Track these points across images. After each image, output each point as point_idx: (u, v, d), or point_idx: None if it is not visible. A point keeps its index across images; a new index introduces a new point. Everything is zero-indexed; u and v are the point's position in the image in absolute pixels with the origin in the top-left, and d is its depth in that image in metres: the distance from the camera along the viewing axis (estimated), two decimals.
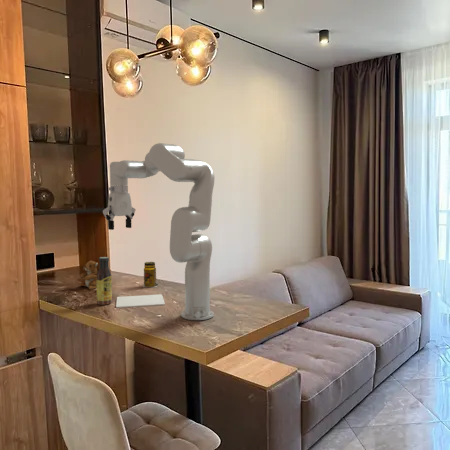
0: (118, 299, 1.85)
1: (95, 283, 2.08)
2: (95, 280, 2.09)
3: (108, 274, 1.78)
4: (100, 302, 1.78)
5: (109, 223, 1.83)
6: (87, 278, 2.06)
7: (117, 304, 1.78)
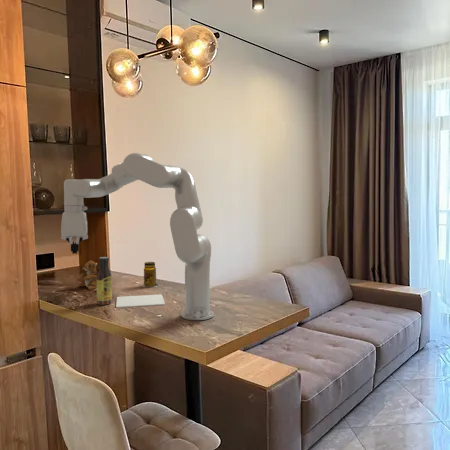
0: (118, 299, 1.85)
1: (94, 283, 2.08)
2: (94, 280, 2.09)
3: (108, 274, 1.78)
4: (100, 302, 1.78)
5: (78, 246, 1.77)
6: (86, 278, 2.06)
7: (117, 304, 1.78)
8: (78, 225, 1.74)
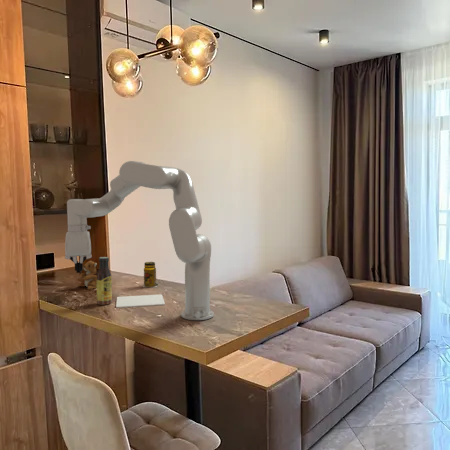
0: (118, 299, 1.85)
1: (94, 283, 2.08)
2: (94, 280, 2.09)
3: (108, 274, 1.78)
4: (100, 302, 1.78)
5: (82, 265, 1.78)
6: (86, 278, 2.06)
7: (117, 304, 1.78)
8: (82, 244, 1.74)
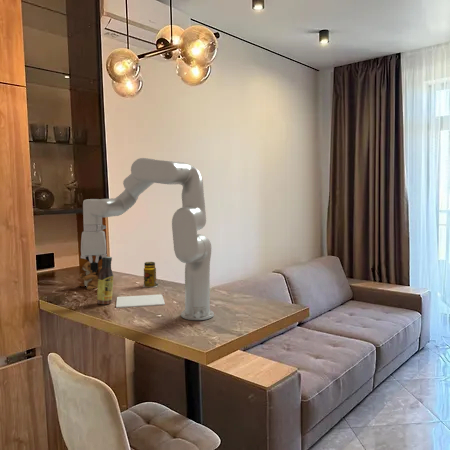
0: (118, 299, 1.85)
1: (94, 283, 2.08)
2: (94, 280, 2.09)
3: (110, 274, 1.79)
4: (100, 301, 1.78)
5: (97, 265, 1.79)
6: (86, 278, 2.06)
7: (117, 304, 1.78)
8: (97, 244, 1.76)
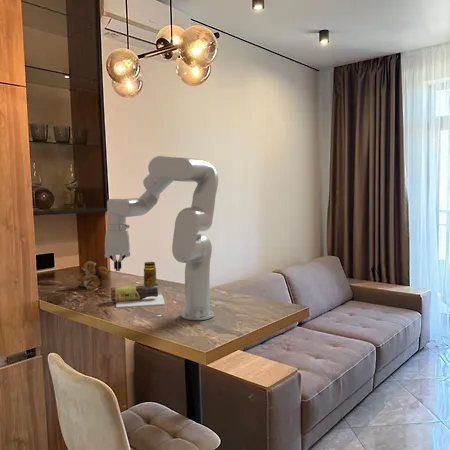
0: None
1: (93, 283, 2.08)
2: (93, 280, 2.08)
3: (141, 297, 1.82)
4: (113, 291, 1.80)
5: None
6: (85, 278, 2.05)
7: (117, 304, 1.78)
8: (121, 243, 1.78)
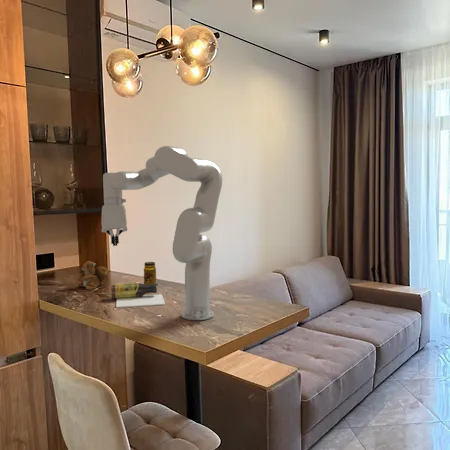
0: (118, 299, 1.85)
1: (92, 283, 2.08)
2: (93, 280, 2.08)
3: (140, 283, 1.90)
4: None
5: (118, 238, 1.80)
6: (84, 278, 2.05)
7: (117, 304, 1.78)
8: (118, 217, 1.77)
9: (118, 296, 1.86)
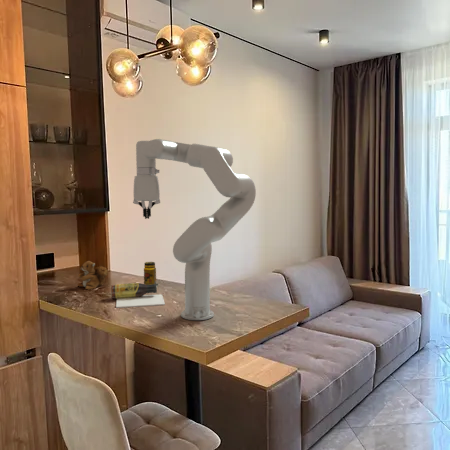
0: (118, 299, 1.85)
1: (92, 283, 2.07)
2: (92, 280, 2.08)
3: (140, 283, 1.90)
4: None
5: (150, 211, 1.70)
6: (84, 278, 2.05)
7: (117, 304, 1.78)
8: (151, 188, 1.67)
9: (118, 296, 1.86)
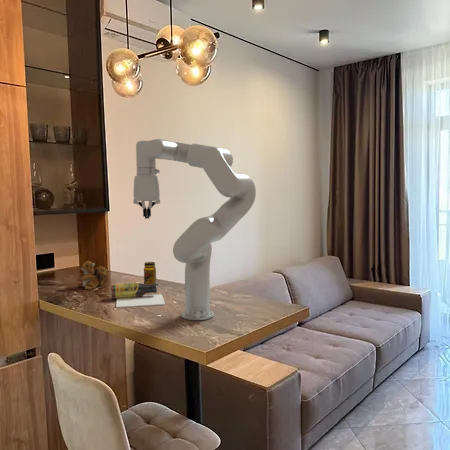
0: (118, 299, 1.85)
1: (92, 283, 2.07)
2: (92, 280, 2.08)
3: (140, 283, 1.90)
4: None
5: (150, 211, 1.70)
6: (83, 278, 2.05)
7: (117, 304, 1.78)
8: (151, 188, 1.67)
9: (118, 296, 1.86)
